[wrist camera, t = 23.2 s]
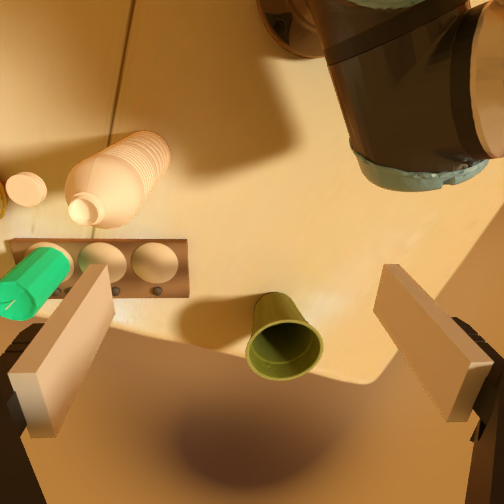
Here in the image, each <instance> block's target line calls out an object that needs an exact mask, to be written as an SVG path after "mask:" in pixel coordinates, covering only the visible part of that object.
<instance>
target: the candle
mask: <svg viewBox="0 0 504 504" xmlns="http://www.w3.org/2000/svg"><path fill="white" fill-rule="evenodd" d="M69 271H70V264H69V260H68V259H67V257H66V256H65V255H64V254H63V253H62V252H61V251H59V250H57V249H55V248H53V247H40V248H38V249H36V250H34V251H32V252H31V253H30V254H29V255H28V256H26V257H25V258H24V259H23V260H22V261H21V262H19V263H18V264H17V265H16V266H15V267H14V268H13V269H11V270H10V271H9V272H8V273H7V274H6V275H4V276H3V277H2V278H1V279H0V316H2V317H5V318H8V319H11V320H20V321H25V320H27V319H30V318H32V317H33V316H34V315H35V314H36V313H37V312H38V310H39V309H40V308H41V307H42V305H43V304H44V303H45V302H46V301H47V299H48V298H49V297H50V296H51V295H52V293H53V292H54V291H55V290H56V288H57V287H58V286H59V285H60V284H61V282H62V281H63V280H64V279H65V278H66V276H67V274H68V273H69Z"/></svg>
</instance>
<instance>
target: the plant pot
mask: <svg viewBox="0 0 504 504" xmlns="http://www.w3.org/2000/svg"><path fill="white" fill-rule="evenodd" d="M322 353H323V340H322V337H321V335H320V334H319V332H318V331H317V330H316V329H315V328H314V327H313V326H311V325H310V324H309V323H308V322H307V321H306V320H305V319H304V318H303V316H302V315H301V313H300V312H299V310H298V309H297V307H296V306H295V304H294V302H293V301H292V300H291V299H290V298H289V297H288V296H287V295H285V294H283V293H277V292H274V293H269V294H266V295H264V296H263V297H262V298H261V299H260V300H259V301H258V302H257V303H256V305H255V308H254V318H253V328H252V334H251V338H250V340H249V342H248V344H247V347H246V360H247V363H248V365H249V367H250V368H251V369H252V370H253V371H254V372H255V373H256V374H258V375H259V376H261V377H263V378H266V379H270V380H276V381H281V380H282V381H283V380H290V379H294V378H297V377H299V376H302V375H304V374H306V373H307V372H309V371H310V370H311V369H312V368H313V367H314V366H315V365H316V364H317V363H318V362H319V360H320V358H321V356H322Z"/></svg>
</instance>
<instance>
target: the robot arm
mask: <svg viewBox="0 0 504 504" xmlns="http://www.w3.org/2000/svg"><path fill="white" fill-rule="evenodd" d="M257 5H258V9H259V12H260V16H261V18H262V21H263V23H264V25H265V27H266V29H267V30H268V32H269V33H270V35H271V36H272V37H273V39H274V40H275V41H276V42H277V43H278V44H279V45H280V46H282V47H283V48H284V49H286V50H287V51H289V52H291V53H293V54H295V55H298V56H301V57H306V58H320V57H325V59H326V62H327V66H328V69H329V73H330V76H331V79H332V82H333V85H334V88H335V92H336V95H337V98H338V101H339V104H340V107H341V111H342V114H343V117H344V120H345V123H346V126H347V130H348V133H349V136H350V138H349V143H350V147H351V150H353V153H354V154H355V155H356V158H357V160H358V163H359V166H360V168H361V171H362V173H363V174H364V176H365V177H366V178H367V179H368V180H369V181H370V182H371V183H373V184H375V185H377V186H379V187H381V188H384V189H388V190H393V191H400V192H422V191H431V190H436V189H441V187H442V185H444V184H449V185H456V184H459V183H462V182H464V181H466V180H468V179H470V178H472V177H474V176H475V175H477V174H478V173H480V172H481V171H482V170H483V169H484V168H485V166H486V165H487V164H488V161H489V159H496V158H502V157H504V0H490V1H488V2H486V3H483V4H481V5H478V6H476V7H473V8H471V6H470V0H257ZM373 312H374V313H375V315H376V316H377V318H378V319H379V321H380V322H381V324H382V325H383V327H384V328H385V330H386V331H387V333H388V334H389V336H390V337H391V339H392V340H393V342H394V343H395V345H396V346H397V348H398V349H399V351H400V352H401V354H402V356H403V357H404V359H405V360H406V362H407V363H408V365H409V366H410V367H411V369H412V371H413V372H414V374H415V375H416V377H417V378H418V380H419V381H420V382H421V384H422V386H423V387H424V389H425V390H426V392H427V393H428V395H429V397H430V398H431V400H432V401H433V403H434V404H435V405H436V407H437V409H438V410H439V412H440V413H441V415H442V416H443V418H444V419H445V421H446V422H466V421H467V420H468V418H469V416H470V414H471V412H472V409H473V410H474V411H475V412H476V414H477V415H478V416H479V417H480V420H479V422H478V424H477V426H476V428H475V431H474V433H473V435H472V437H471V439H470V441H472V442H474V447H473V453H472V461H471V466H470V473H469V479H468V485H467V492H466V499H465V504H504V359H503V358H502V357H501V356H500V355H499V354H498V353H497V352H496V351H495V350H494V349H493V348H492V347H491V346H490V345H489V344H488V343H486V342H485V340H484V339H483V338H482V337H481V336H478V333H477V332H476V331H475V330H474V329H472V327H471V326H470V325H468V324H467V323H465V322H463V321H462V320H460V319H458V318H457V317H450V316H449V315H448V314H447V313H446V312H445V311H444V310H443V309H442V308H441V307H440V306H439V305H438V304H437V303H436V302H435V301H434V300H433V299H432V298H431V297H430V296H429V295H428V294H427V293H426V292H425V291H424V290H423V289H422V288H421V286H420V285H419V284H418V283H417V282H416V281H415V280H414V279H413V278H412V277H411V276H410V275H409V274H408V273H407V272H406V271H405V270H404V269H403V268H402V267H401V266H400V265H399V264H384V266H383V270H382V274H381V279H380V283H379V287H378V292H377V296H376V300H375V305H374V309H373ZM114 315H115V309H114V303H113V297H112V291H111V285H110V279H109V273H108V266H107V264H90V265H89V266H88V267H87V269H86V270H85V271H84V273H83V274H82V275H81V277H80V278H79V279H78V281H77V282H76V283H75V285H74V286H73V287H72V289H71V290H70V291H69V292H68V294H67V295H66V296H65V298H64V299H63V300H62V302H61V303H60V304H59V306H58V307H57V308H56V310H55V311H54V312H53V314H52V315H51V316H50V318H49V319H48V320H47V322H46V323H39V324H38V323H36V324H32V325H30V326H29V327H27V328H26V329H24V330H23V331H22V332H20V333H19V335H18V336H17V337H16V338H15V339H14V341H13V342H12V344H11V345H9V347H8V348H7V349H6V350H5V353H3V354H2V355H1V356H0V504H47V503H46V500H45V498H44V496H43V493H42V490H41V488H40V486H39V483H38V481H37V478H36V476H35V473H34V471H33V468H32V466H31V463H30V461H29V458H28V456H27V454H26V451H25V448H24V446H23V444H22V441H21V439H20V436H21V434H22V432H23V431H24V429H25V428H26V426H27V429H28V431H29V435H30V437H31V438H52V437H56V436H57V434H58V432H59V430H60V428H61V426H62V423H63V422H64V419H65V417H66V415H67V413H68V411H69V409H70V407H71V405H72V403H73V401H74V399H75V396H76V394H77V392H78V390H79V388H80V386H81V384H82V382H83V380H84V378H85V376H86V374H87V371H88V369H89V367H90V365H91V363H92V361H93V359H94V357H95V355H96V352H97V351H98V348H99V346H100V344H101V342H102V340H103V338H104V336H105V334H106V332H107V330H108V328H109V326H110V324H111V321H112V319H113V317H114Z"/></svg>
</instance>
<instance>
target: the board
mask: <svg viewBox="0 0 504 504" xmlns="http://www.w3.org/2000/svg"><path fill="white" fill-rule="evenodd" d="M10 246H11V249H12V253H13V256H14V260H15V263H16V265H17V264H18V263H19V262H21V261H22V260H23V259H24V258H25V257H26V256H28V255H29V254H30V253H31V252H32V251H34V250H36V249H38V248H40V247H53V248H55V249H57V250H59V251H61V252H62V253H63V254H64V255H65V256H66V257H67V259H68V260H69V264H70V271H69V273H68V274H67V276H66V278H65V279H64V280H63V281H62V282H61V284H60V285H59V286H58V287H57V288H56V290H55V291H54V292H53V293H52V295H51V296H50V297H49V298H48V299H64V298H65V296H66V295H67V294H68V292H69V291H70V290H71V289H72V287H73V286H74V285H75V283H76V282H77V281H78V279H79V278H80V277H81V275H82V274H83V273H84V271H85V270H86V269H87V267H88V266H89V265H90V264H107V266H108V273H109V279H110V285H111V291H112V297H113V298H189V294H190V289H189V268H188V246H187V239H38V238H15V239H13V240H12V241H11V242H10Z"/></svg>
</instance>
